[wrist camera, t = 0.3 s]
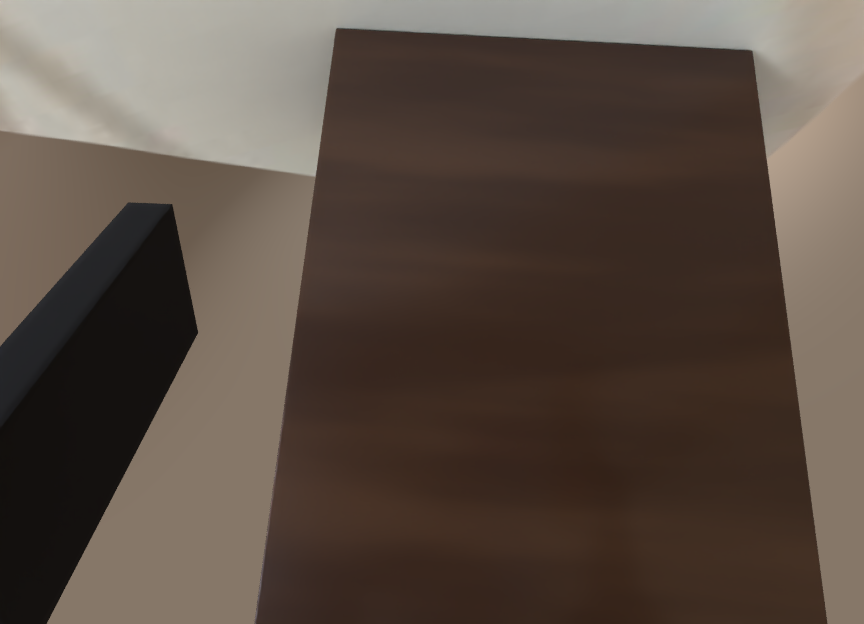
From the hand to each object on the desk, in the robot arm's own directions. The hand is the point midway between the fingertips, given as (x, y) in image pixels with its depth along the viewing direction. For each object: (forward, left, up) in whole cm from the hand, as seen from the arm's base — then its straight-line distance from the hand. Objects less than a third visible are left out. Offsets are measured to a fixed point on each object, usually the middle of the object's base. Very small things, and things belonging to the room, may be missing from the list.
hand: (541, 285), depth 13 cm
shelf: (+15, +1, -16) cm, 22 cm away
